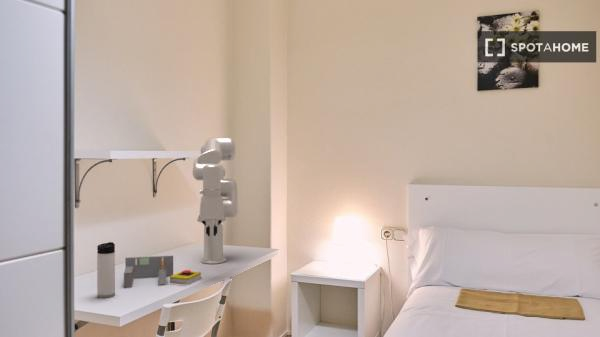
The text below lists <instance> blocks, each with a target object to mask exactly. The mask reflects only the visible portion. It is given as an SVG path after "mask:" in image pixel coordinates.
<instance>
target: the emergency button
mask: <svg viewBox="0 0 600 337" xmlns="http://www.w3.org/2000/svg"><path fill="white" fill-rule="evenodd" d="M202 279H203V276H202V272H201V271H193V270H190V269H189V270H187V269H184V270H182V271H180V272H178V273H175V274H174V273H173V275H172V276H169V281H168V282H166V285H170V286H179V287H186V286H188V285H191V284H193V283H195V282H197V281H199V280H202Z"/></svg>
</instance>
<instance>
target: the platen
mask: <svg viewBox="0 0 600 337" xmlns="http://www.w3.org/2000/svg"><path fill="white" fill-rule="evenodd" d="M158 285H167V276H166V267H164V260H162V267H159V277H158Z"/></svg>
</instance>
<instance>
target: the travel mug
mask: <svg viewBox="0 0 600 337" xmlns="http://www.w3.org/2000/svg"><path fill="white" fill-rule="evenodd" d="M96 247H97V251H96V253H97V254H96V255H97V256H96V257H97V259H96V261H97V263H96V264H97V271H96V274H97V276H96V277H97V279H96V280H97V282H96V283H97V287H96V288H97V289H96V290H97V293H96V294H97V298H101V299H106V298H108V299H109V298H112V297H114V296H115V295H116V251H115V250H116V244H115V243H114V242H112V241H109V242H106V243H101V244H98V245H97V246H96Z"/></svg>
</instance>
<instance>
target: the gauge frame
mask: <svg viewBox="0 0 600 337" xmlns="http://www.w3.org/2000/svg"><path fill="white" fill-rule="evenodd" d="M124 260H125V268H124V272H123V288H124V289H125V288H132V287H133V284H134V280H135V279H143V278H144V279H145V278H146V279H148V278H159V267H162V260H164V267H166V277H170V276H172V275H174V255H157V256H156V255H155V256H154V255H152V256H134V257H133V256H132V257H125V259H124Z"/></svg>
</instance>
